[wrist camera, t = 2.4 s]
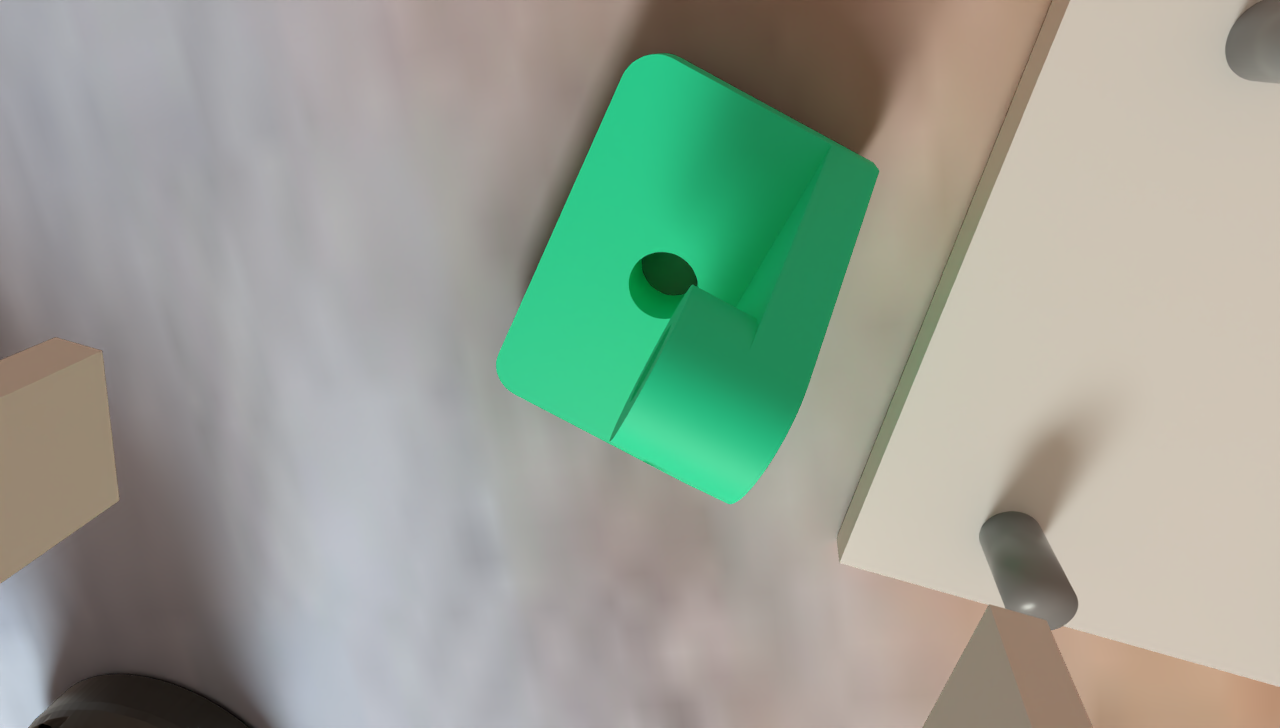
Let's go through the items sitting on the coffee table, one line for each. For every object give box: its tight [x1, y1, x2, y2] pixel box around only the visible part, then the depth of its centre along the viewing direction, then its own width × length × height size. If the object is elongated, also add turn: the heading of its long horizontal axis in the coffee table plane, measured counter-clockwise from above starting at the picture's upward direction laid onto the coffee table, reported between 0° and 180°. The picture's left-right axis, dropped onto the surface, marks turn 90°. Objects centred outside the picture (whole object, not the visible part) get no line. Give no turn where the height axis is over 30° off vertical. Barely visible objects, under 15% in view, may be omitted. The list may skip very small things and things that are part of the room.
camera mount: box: [496, 53, 879, 504], centre depth 21 cm, size 12×8×10 cm, turn 154°
